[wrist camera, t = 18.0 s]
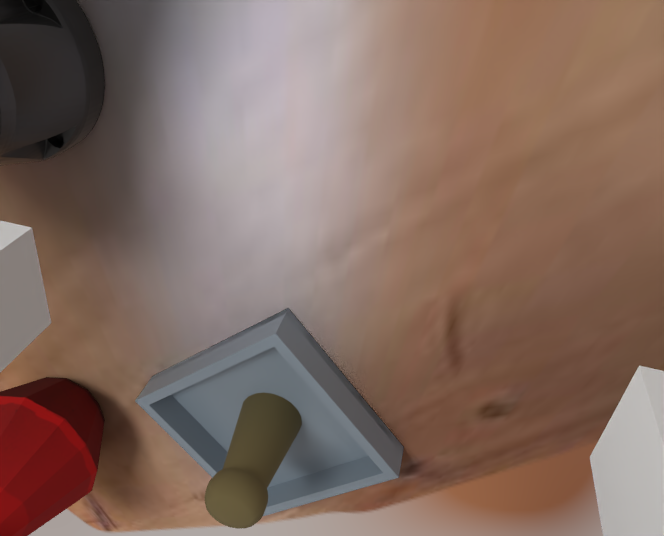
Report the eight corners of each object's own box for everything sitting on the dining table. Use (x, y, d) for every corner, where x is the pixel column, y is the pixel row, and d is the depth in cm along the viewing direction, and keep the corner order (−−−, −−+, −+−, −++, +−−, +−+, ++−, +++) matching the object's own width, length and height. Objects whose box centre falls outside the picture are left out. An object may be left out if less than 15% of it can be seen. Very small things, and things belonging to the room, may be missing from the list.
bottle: (129, 471, 68) (13, 655, 52) (23, 438, 69) (-123, 607, 53) (124, 375, 59) (-18, 559, 43) (3, 338, 61) (-180, 504, 44)
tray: (264, 490, 64) (253, 518, 61) (152, 375, 58) (135, 400, 55) (403, 447, 55) (398, 477, 53) (288, 308, 50) (275, 333, 47)
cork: (308, 439, 57) (272, 543, 48) (250, 437, 59) (206, 536, 50) (294, 393, 54) (253, 493, 45) (234, 392, 56) (183, 488, 47)
